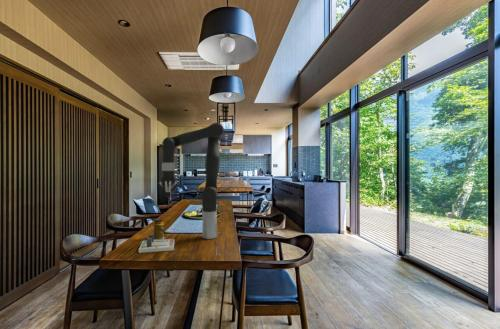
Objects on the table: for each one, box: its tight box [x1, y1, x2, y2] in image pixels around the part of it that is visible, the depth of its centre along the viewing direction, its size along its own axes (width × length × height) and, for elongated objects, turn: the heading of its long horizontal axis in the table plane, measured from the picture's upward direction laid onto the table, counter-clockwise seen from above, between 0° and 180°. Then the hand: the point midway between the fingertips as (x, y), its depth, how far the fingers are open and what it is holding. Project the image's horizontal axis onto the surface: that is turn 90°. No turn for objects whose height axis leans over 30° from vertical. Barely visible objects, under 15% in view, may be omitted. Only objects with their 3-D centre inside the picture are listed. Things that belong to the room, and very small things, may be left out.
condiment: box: [153, 218, 166, 240], centre depth 167 cm, size 7×8×12 cm
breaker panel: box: [138, 238, 175, 254], centre depth 148 cm, size 18×16×2 cm
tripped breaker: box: [146, 237, 152, 247], centre depth 143 cm, size 2×2×4 cm
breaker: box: [148, 233, 154, 242], centre depth 152 cm, size 2×2×4 cm
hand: (168, 198), depth 160 cm, fingers closed
